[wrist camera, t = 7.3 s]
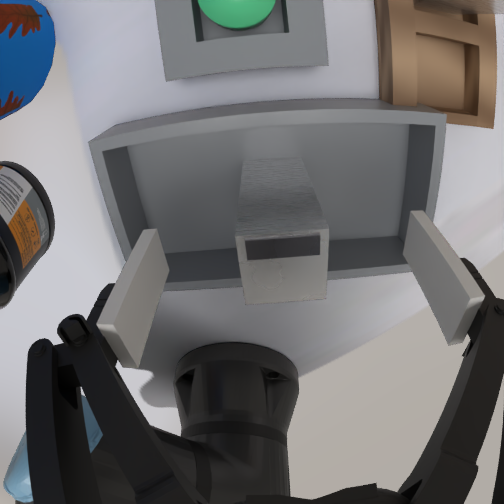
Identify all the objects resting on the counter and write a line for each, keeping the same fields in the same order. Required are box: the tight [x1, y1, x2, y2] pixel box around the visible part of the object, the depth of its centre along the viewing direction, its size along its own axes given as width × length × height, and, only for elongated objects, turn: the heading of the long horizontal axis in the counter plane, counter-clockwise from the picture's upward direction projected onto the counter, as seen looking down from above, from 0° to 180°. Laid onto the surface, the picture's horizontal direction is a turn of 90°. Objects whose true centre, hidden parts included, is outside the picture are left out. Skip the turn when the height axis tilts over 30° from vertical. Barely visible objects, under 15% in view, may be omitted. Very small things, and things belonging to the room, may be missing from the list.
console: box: [155, 0, 329, 82], centre depth 15 cm, size 9×9×4 cm
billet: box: [235, 156, 329, 305], centre depth 19 cm, size 4×4×10 cm
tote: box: [88, 98, 447, 291], centre depth 22 cm, size 12×22×4 cm, turn 96°
